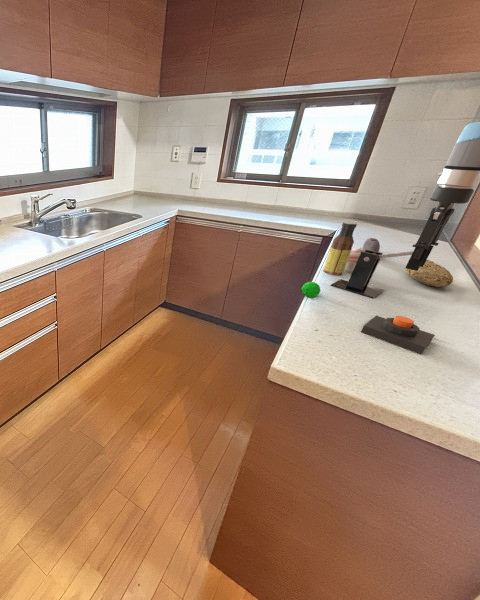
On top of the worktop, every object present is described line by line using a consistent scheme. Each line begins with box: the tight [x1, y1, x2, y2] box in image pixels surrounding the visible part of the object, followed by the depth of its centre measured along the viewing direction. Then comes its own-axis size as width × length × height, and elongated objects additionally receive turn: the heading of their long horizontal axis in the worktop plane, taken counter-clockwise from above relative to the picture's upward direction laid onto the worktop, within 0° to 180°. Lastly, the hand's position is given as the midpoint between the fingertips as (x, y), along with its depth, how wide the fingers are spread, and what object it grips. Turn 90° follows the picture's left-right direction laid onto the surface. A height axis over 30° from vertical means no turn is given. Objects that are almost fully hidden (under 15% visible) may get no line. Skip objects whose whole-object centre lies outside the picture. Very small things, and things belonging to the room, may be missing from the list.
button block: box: [360, 315, 435, 355], centre depth 84 cm, size 12×10×4 cm
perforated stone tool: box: [362, 237, 381, 252], centre depth 145 cm, size 15×5×7 cm, turn 145°
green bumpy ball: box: [301, 281, 321, 298], centre depth 105 cm, size 5×5×5 cm
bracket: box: [330, 249, 384, 299], centre depth 108 cm, size 12×9×14 cm
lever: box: [372, 250, 414, 259], centre depth 101 cm, size 14×6×2 cm, turn 36°
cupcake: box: [343, 247, 363, 274], centre depth 125 cm, size 9×9×10 cm
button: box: [392, 315, 415, 328], centre depth 82 cm, size 4×4×2 cm
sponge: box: [405, 259, 454, 288], centre depth 119 cm, size 13×8×20 cm
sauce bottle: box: [322, 221, 358, 277], centre depth 120 cm, size 7×6×20 cm
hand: (414, 267), depth 98 cm, fingers closed on lever, 5 cm apart
